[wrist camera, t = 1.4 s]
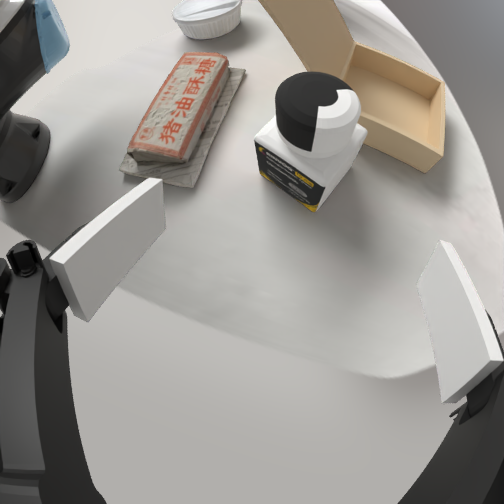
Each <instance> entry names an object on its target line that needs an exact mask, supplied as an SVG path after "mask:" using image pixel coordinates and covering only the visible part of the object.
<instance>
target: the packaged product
mask: <svg viewBox="0 0 504 504" xmlns="http://www.w3.org/2000/svg"><path fill="white" fill-rule="evenodd" d="M228 66H229V61H228V59H227V57H226V56H223V55H220V54H219V53H216V52H214V53H209V52H207V53H203V52H185V53H184V54H183V56H182V57H181V58H180V60H179V61H178V62H177V64H176V65H175V66H174V68H173V70H172V71H171V73H170V74H169V75H168V77H167V79H166V80H165V82H164V84H163V85H162V86H161V88H160V90H159V92H158V93H157V95H156V96H155V98H154V99H153V101H152V103H151V105H150V106H149V108H148V110H147V112H146V114H145V115H144V117H143V119H142V121H141V122H140V124H139V126H138V129H137V131H136V132H135V134H134V135H133V137H132V139H131V141H130V143H129V146H128V148H127V154H126V155H125V158H124V160H123V162H122V164H121V166H120V168H119V170H120V171H122V172H124V173H126V174H129V175H133V176H138V177H143V178H156V179H163V183H167V184H171V185H175V186H181V187H188V188H194V186H195V183H196V181H197V179H198V176H199V174H200V172H201V169H202V167H203V164H204V162H205V159H206V157H207V154H208V151H209V148H210V146H211V144H212V142H213V139H214V137H215V135H216V133H217V131H218V129H219V127H220V124H221V122H222V120H223V119H224V117H225V115H226V113H227V110H228V108H229V105H230V102H231V99H232V98H233V96H234V94H235V92H236V90H237V89H238V86H239V84H240V82H241V80H242V77H243V75H244V73H245V71H246V70H245V69H238V68H228Z"/></svg>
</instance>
